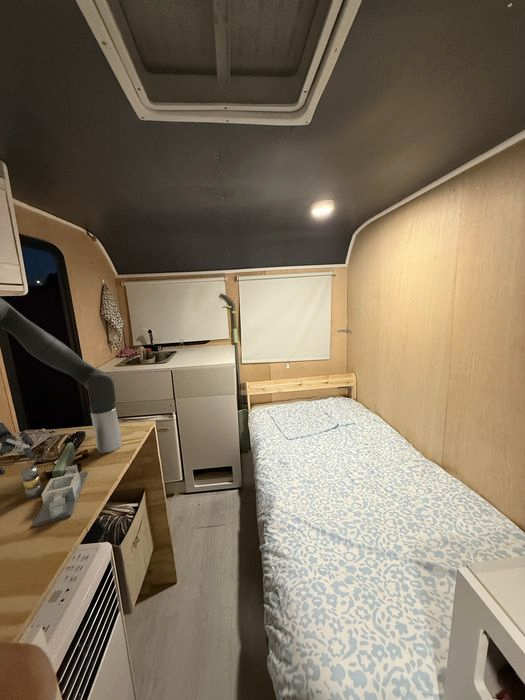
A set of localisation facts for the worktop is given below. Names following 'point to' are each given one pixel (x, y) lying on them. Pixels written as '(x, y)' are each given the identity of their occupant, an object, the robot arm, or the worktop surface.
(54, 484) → the base
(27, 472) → the grey cylinder with band
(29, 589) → the worktop surface
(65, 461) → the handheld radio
